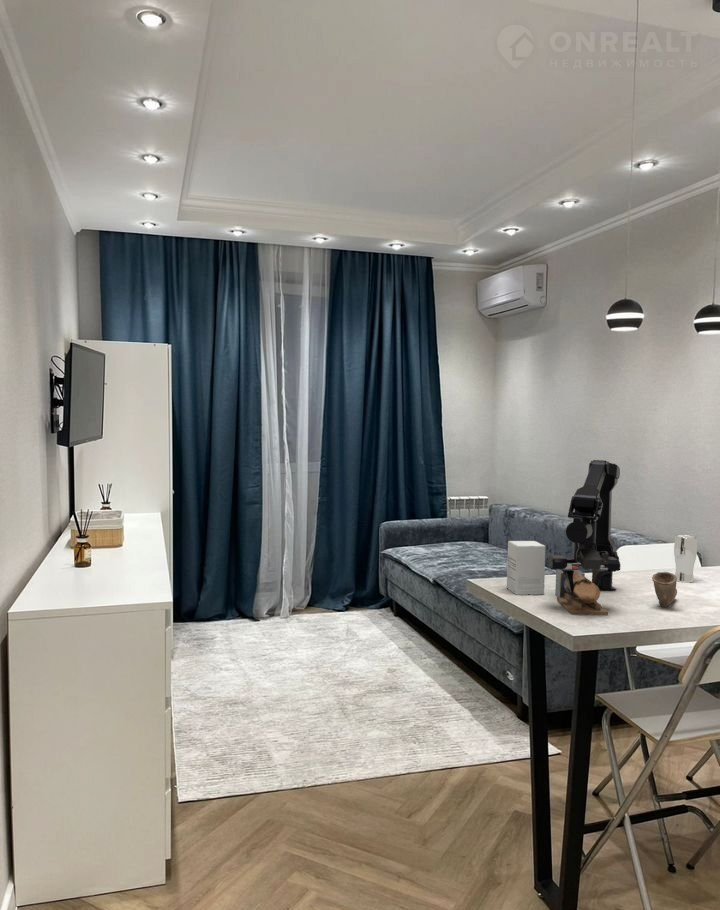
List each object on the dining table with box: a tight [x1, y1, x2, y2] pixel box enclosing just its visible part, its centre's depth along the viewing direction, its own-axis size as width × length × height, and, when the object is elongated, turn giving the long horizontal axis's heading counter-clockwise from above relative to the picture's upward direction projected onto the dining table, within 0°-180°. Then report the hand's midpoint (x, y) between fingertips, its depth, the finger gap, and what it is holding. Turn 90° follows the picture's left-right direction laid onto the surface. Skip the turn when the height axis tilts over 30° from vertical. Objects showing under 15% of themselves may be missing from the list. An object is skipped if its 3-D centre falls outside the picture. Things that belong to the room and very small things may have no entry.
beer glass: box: [673, 534, 698, 584], centre depth 233 cm, size 7×7×15 cm
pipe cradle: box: [556, 593, 609, 616], centre depth 195 cm, size 14×10×3 cm
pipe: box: [651, 571, 678, 608], centre depth 201 cm, size 6×17×10 cm, turn 145°
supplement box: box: [506, 540, 546, 596], centre depth 212 cm, size 9×9×15 cm
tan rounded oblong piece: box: [567, 573, 601, 603], centre depth 195 cm, size 12×6×6 cm, turn 0°
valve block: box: [554, 566, 586, 598], centre depth 206 cm, size 7×7×9 cm
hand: (582, 593), depth 195 cm, fingers closed on tan rounded oblong piece, 6 cm apart
